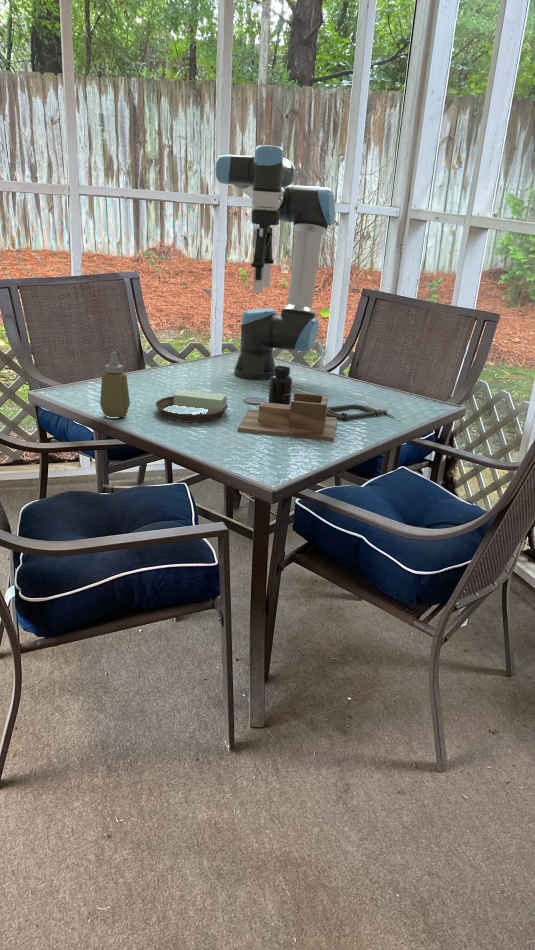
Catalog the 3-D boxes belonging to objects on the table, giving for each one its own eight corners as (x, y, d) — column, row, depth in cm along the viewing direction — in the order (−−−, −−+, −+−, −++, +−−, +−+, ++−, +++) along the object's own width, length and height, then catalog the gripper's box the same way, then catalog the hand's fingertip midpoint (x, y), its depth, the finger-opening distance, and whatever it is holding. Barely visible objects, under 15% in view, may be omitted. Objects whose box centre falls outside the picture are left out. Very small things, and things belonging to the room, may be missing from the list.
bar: (179, 399, 195) (179, 389, 194) (226, 404, 193) (226, 394, 192) (173, 405, 189) (173, 394, 188) (221, 410, 187) (221, 400, 186)
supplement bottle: (288, 410, 201) (291, 371, 197) (266, 407, 202) (268, 368, 198) (291, 404, 207) (294, 366, 203) (270, 401, 208) (273, 363, 204)
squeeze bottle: (117, 422, 180) (115, 357, 173) (94, 417, 184) (91, 352, 177) (136, 415, 187) (135, 352, 180) (113, 410, 190) (112, 347, 183)
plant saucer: (150, 405, 199) (150, 394, 197) (218, 403, 205) (218, 393, 204) (161, 427, 181) (161, 415, 179) (235, 424, 187) (235, 413, 186)
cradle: (248, 412, 196) (249, 384, 193) (336, 421, 194) (339, 392, 191) (237, 431, 180) (239, 400, 177) (333, 440, 177) (336, 410, 174)
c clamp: (367, 406, 212) (368, 397, 211) (400, 422, 198) (401, 413, 197) (313, 411, 204) (314, 402, 203) (343, 428, 190) (344, 419, 189)
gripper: (273, 210, 169) (268, 295, 177) (284, 209, 192) (279, 285, 200) (244, 208, 170) (240, 293, 178) (259, 208, 192) (255, 283, 201)
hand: (261, 289), depth 189 cm, fingers open, 13 cm apart
